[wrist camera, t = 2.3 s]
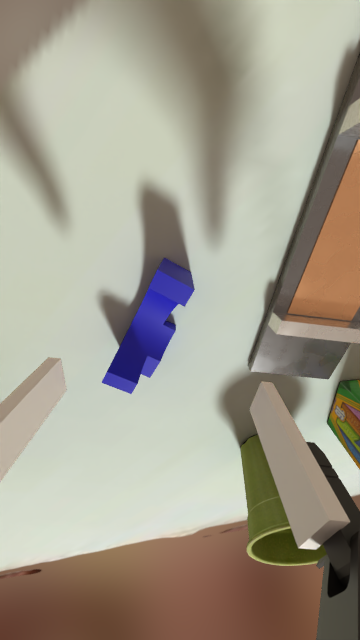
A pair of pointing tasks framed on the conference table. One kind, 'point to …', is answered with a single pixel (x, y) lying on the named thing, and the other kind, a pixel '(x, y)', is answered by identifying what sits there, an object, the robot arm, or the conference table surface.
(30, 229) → the conference table surface
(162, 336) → the cable clip
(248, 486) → the plant pot
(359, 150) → the grey tray
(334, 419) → the chalk box
